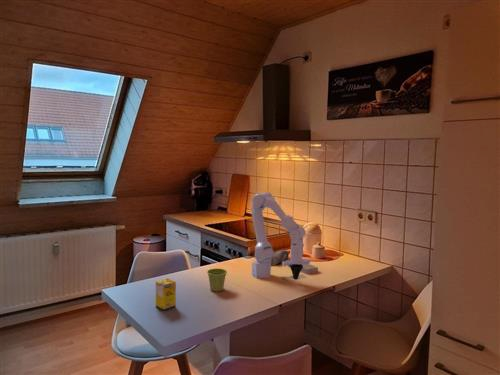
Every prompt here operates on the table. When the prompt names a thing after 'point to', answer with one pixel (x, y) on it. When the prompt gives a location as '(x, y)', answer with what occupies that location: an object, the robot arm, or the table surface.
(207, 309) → the table surface
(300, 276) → the laid board
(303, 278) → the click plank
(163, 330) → the table surface
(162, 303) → the supplement box
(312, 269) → the brick
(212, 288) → the plant pot
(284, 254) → the decorative bottle
